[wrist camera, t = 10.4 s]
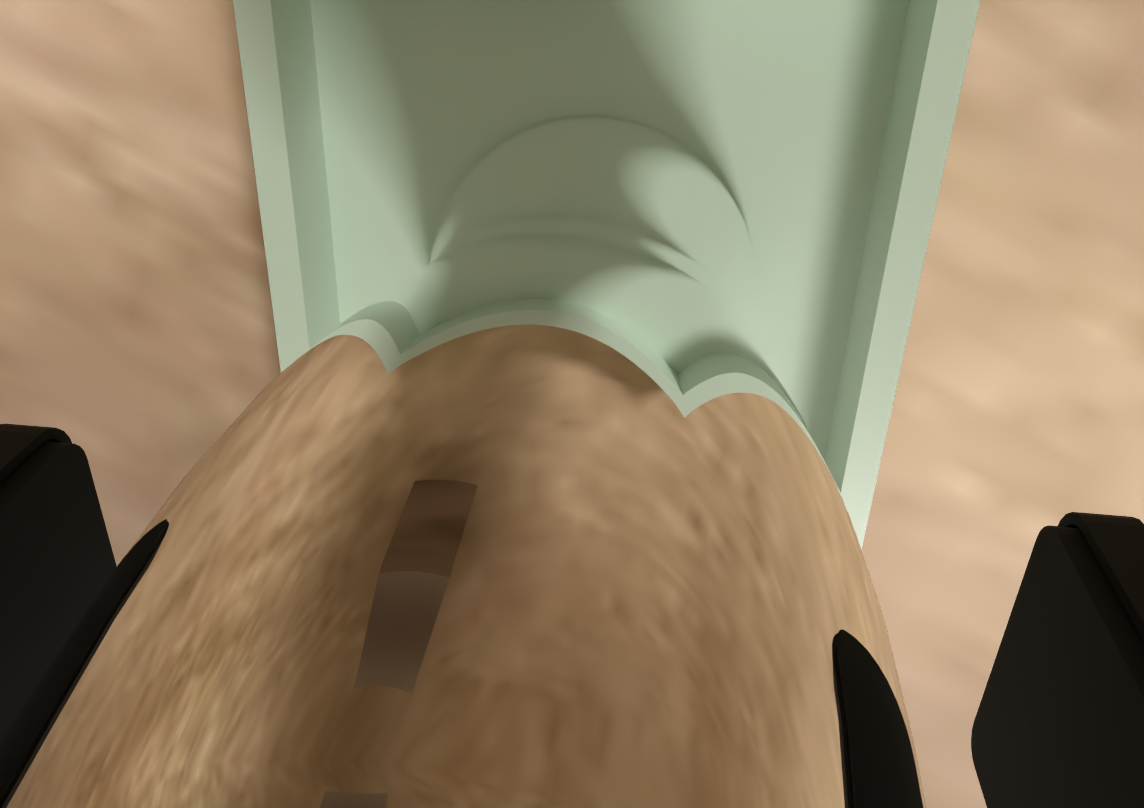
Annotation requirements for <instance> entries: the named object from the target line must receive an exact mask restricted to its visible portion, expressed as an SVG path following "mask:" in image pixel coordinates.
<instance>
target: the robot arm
mask: <svg viewBox="0 0 1144 808" xmlns="http://www.w3.org/2000/svg"><path fill="white" fill-rule="evenodd" d="M116 567H117V566H116V563H115V559H114V555H113V552H112V548H111V544H110V541H109V537H108V533H107V530H106V526H105V522H104V519H103V515H102V511H101V508H100V504H99V500H98V497H97V493H96V489H95V486H94V482H93V478H92V475H91V471H90V467H89V464H88V460H87V457H86V455H85V452H84V450H83V449H82V448H81V447H80V446H78V445H76V444H72V442H71V440H70V437H69V436H68V435H67V434H66V433H65V432H64V431H62V430H60V429H57V428H50V427H38V426H26V425H14V424H0V741H1V739H2V738H3V736H4V735H5V733H6V731H7V730H8V728H9V727H10V725H11V724H12V722H13V720H14V719H15V717H16V716H17V714H18V713H19V711H20V709H21V708H22V706H23V705H24V703H25V701H26V700H27V698H28V697H29V695H30V694H31V693H32V691H33V690H34V688H35V687H36V685H37V684H38V682H39V681H40V679H41V678H42V676H43V675H44V673H45V672H46V670H47V669H48V667H49V666H50V664H51V663H52V661H53V660H54V658H55V657H56V655H57V654H58V652H59V651H60V649H61V648H62V646H63V645H64V643H65V642H66V640H67V639H68V637H69V636H70V634H71V633H72V631H73V630H74V628H75V627H76V625H77V624H78V622H79V621H80V619H81V618H82V616H83V615H84V613H85V612H86V610H87V609H88V607H89V606H90V604H91V603H92V601H93V600H94V598H95V597H96V595H97V594H98V592H99V591H100V589H101V588H102V587H103V585H104V584H105V582H106V581H107V580H108V578H109V577H110V576H111V574H112V573H113V572H114V570H115V569H116ZM971 749H972V757H973V762H974V766H975V769H976V773H977V776H978V779H979V782H980V786H981V789H982V792H983V795H984V799H985V802H986V805H987V808H1144V524H1143V523H1142V522H1141V521H1140V520H1139V519H1136V518H1133V517H1126V516H1114V515H1102V514H1089V513H1077V512H1071V513H1068V514H1066V515H1065V516H1064V517H1063V518H1062V519H1061V520H1060V522H1059V524H1058V526H1046V527H1044V528H1043V529H1042V530H1041V531H1040V532H1039V535H1038V537H1037V539H1036V542H1035V545H1034V548H1033V551H1032V554H1031V556H1030V559H1029V562H1028V565H1027V568H1026V571H1025V574H1024V577H1023V580H1022V583H1021V586H1020V589H1019V592H1018V595H1017V597H1016V600H1015V603H1014V606H1013V609H1012V612H1011V615H1010V618H1009V621H1008V624H1007V627H1006V630H1005V633H1004V636H1003V638H1002V641H1001V644H1000V647H999V650H998V653H997V656H996V659H995V662H994V665H993V668H992V671H991V674H990V677H989V680H988V682H987V685H986V688H985V691H984V694H983V697H982V700H981V703H980V706H979V709H978V712H977V715H976V718H975V721H974V724H973V728H972V737H971Z"/></svg>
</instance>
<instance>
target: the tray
mask: <svg viewBox="0 0 1144 808" xmlns="http://www.w3.org/2000/svg"><path fill="white" fill-rule="evenodd" d="M979 4H980V0H233V5H234V13H235V21H236V28H237V36H238V44H239V52H240V59H241V67H242V75H243V83H244V90H245V98H246V106H247V114H248V121H249V129H250V137H251V145H252V152H253V160H254V168H255V176H256V183H257V191H258V199H259V207H260V214H261V222H262V230H263V238H264V245H265V253H266V261H267V269H268V276H269V284H270V292H271V300H272V307H273V315H274V323H275V331H276V338H277V346H278V354H279V362H280V369H281V372H282V371H284V370H285V369H286V368H287V367H288V366H290V365H291V364H292V363H293V362H294V361H296V360H297V359H298V358H299V357H301V356H302V355H303V354H304V353H305V352H307V351H308V350H309V349H310V348H312V347H313V346H314V345H315V344H316V343H318V342H319V341H320V340H321V339H322V338H324V337H325V336H326V335H327V334H329V333H330V332H331V331H332V330H333V329H335V328H336V327H337V326H338V325H340V324H341V323H342V322H343V321H344V320H346V319H347V318H348V317H350V316H351V315H352V314H354V313H355V312H357V311H358V310H360V309H361V308H363V307H364V306H366V305H367V304H369V303H370V302H372V301H373V300H375V299H376V298H378V297H379V296H381V295H382V294H384V293H385V292H387V291H388V290H390V289H391V288H393V287H394V286H396V285H397V284H399V283H400V282H402V281H403V280H405V279H406V278H408V277H410V276H411V275H413V274H414V273H416V272H418V271H419V270H421V269H422V268H424V267H426V266H427V265H429V263H430V256H431V250H432V245H433V240H434V236H435V232H436V228H437V225H438V222H439V219H440V217H441V214H442V212H443V210H444V208H445V206H446V204H447V202H448V200H449V198H450V196H451V194H452V193H453V191H454V189H455V188H456V186H457V185H458V184H459V182H460V181H461V180H462V178H463V177H464V176H465V175H466V173H467V172H468V171H469V170H470V169H471V168H472V167H473V166H474V165H475V164H476V163H477V162H478V161H479V160H480V159H481V158H482V157H483V156H484V155H486V154H487V153H488V152H489V151H491V150H492V149H493V148H495V147H496V146H498V145H499V144H500V143H502V142H504V141H505V140H507V139H509V138H510V137H512V136H514V135H516V134H518V133H520V132H522V131H525V130H527V129H529V128H532V127H534V126H537V125H540V124H544V123H547V122H551V121H556V120H561V119H568V118H577V117H601V118H611V119H618V120H623V121H628V122H632V123H636V124H639V125H642V126H645V127H648V128H650V129H653V130H655V131H658V132H660V133H662V134H664V135H666V136H668V137H670V138H672V139H674V140H676V141H677V142H679V143H680V144H682V145H683V146H685V147H686V148H688V149H689V150H691V151H692V152H693V153H694V154H696V155H697V156H698V157H699V158H700V159H702V160H703V161H704V162H705V163H706V164H707V165H708V166H709V167H710V168H711V169H712V170H713V171H714V172H715V173H716V175H717V176H718V177H719V178H720V179H721V181H722V182H723V183H724V185H725V186H726V187H727V189H728V190H729V192H730V193H731V195H732V197H733V198H734V200H735V202H736V204H737V206H738V208H739V210H740V212H741V214H742V216H743V219H744V221H745V224H746V227H747V230H748V234H749V237H750V242H751V247H752V253H753V262H754V288H753V295H752V300H751V305H750V309H749V312H748V316H747V319H746V322H745V325H744V328H745V329H746V331H747V332H748V334H749V335H750V337H751V338H752V339H753V341H754V342H755V344H756V345H757V347H758V348H759V350H760V351H761V353H762V354H763V356H764V357H765V359H766V360H767V362H768V364H769V365H770V367H771V368H772V370H773V371H774V373H775V374H776V376H777V378H778V379H779V381H780V382H781V384H782V385H783V387H784V388H785V390H786V392H787V393H788V395H789V396H790V398H791V399H792V401H793V402H794V404H795V406H796V407H797V409H798V411H799V413H800V414H801V416H802V418H803V420H804V422H805V424H806V426H807V428H808V430H809V432H810V434H811V436H812V438H813V439H814V441H815V443H816V445H817V447H818V449H819V451H820V453H821V455H822V457H823V459H824V461H825V463H826V465H827V467H828V469H829V471H830V473H831V475H832V476H833V478H834V480H835V482H836V485H837V487H838V489H839V491H840V493H841V495H842V497H843V500H844V502H845V504H846V507H847V509H848V512H849V515H850V518H851V520H852V523H853V526H854V529H855V532H856V535H857V538H858V541H859V544H860V547H861V550H862V545H863V540H864V536H865V531H866V526H867V522H868V517H869V513H870V508H871V503H872V499H873V494H874V490H875V485H876V480H877V476H878V471H879V466H880V462H881V457H882V453H883V448H884V443H885V439H886V434H887V429H888V425H889V420H890V416H891V411H892V406H893V402H894V397H895V392H896V388H897V383H898V379H899V374H900V369H901V365H902V360H903V355H904V351H905V346H906V342H907V337H908V332H909V328H910V323H911V318H912V314H913V309H914V305H915V300H916V295H917V291H918V286H919V281H920V277H921V272H922V268H923V263H924V258H925V254H926V249H927V245H928V240H929V235H930V231H931V226H932V221H933V217H934V212H935V208H936V203H937V198H938V194H939V189H940V184H941V180H942V175H943V171H944V166H945V161H946V157H947V152H948V147H949V143H950V138H951V134H952V129H953V124H954V120H955V115H956V110H957V106H958V101H959V97H960V92H961V87H962V83H963V78H964V73H965V69H966V64H967V60H968V55H969V50H970V46H971V41H972V36H973V32H974V27H975V23H976V18H977V13H978V9H979Z"/></svg>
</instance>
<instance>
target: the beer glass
mask: <svg viewBox="0 0 1144 808" xmlns="http://www.w3.org/2000/svg"><path fill="white" fill-rule="evenodd" d="M753 288H754V262H753V253H752V247H751V242H750V237H749V234H748V230H747V227H746V224H745V221H744V219H743V216H742V214H741V212H740V210H739V208H738V206H737V204H736V202H735V200H734V198H733V197H732V195H731V193H730V192H729V190H728V189H727V187H726V186H725V185H724V183H723V182H722V181H721V179H720V178H719V177H718V176H717V175H716V173H715V172H714V171H713V170H712V169H711V168H710V167H709V166H708V165H707V164H706V163H705V162H704V161H703V160H702V159H700V158H699V157H698V156H697V155H696V154H694V153H693V152H692V151H691V150H689V149H688V148H686V147H685V146H683V145H682V144H680V143H679V142H677V141H676V140H674V139H672V138H670V137H668V136H666V135H664V134H662V133H660V132H658V131H655V130H653V129H650V128H648V127H645V126H642V125H639V124H636V123H632V122H628V121H623V120H618V119H611V118H601V117H577V118H568V119H561V120H556V121H551V122H547V123H544V124H540V125H537V126H534V127H532V128H529V129H527V130H525V131H522V132H520V133H518V134H516V135H514V136H512V137H510V138H509V139H507V140H505V141H504V142H502V143H500V144H499V145H498V146H496V147H495V148H493V149H492V150H491V151H489V152H488V153H487V154H486V155H484V156H483V157H482V158H481V159H480V160H479V161H478V162H477V163H476V164H475V165H474V166H473V167H472V168H471V169H470V170H469V171H468V172H467V173H466V175H465V176H464V177H463V178H462V180H461V181H460V182H459V184H458V185H457V186H456V188H455V189H454V191H453V193H452V194H451V196H450V198H449V200H448V202H447V204H446V206H445V208H444V210H443V212H442V214H441V217H440V219H439V222H438V225H437V228H436V232H435V236H434V240H433V245H432V250H431V256H430V263H429V265H427V266H426V267H424V268H422V269H421V270H419V271H418V272H416V273H414V274H413V275H411V276H410V277H408V278H406V279H405V280H403V281H402V282H400V283H399V284H397V285H396V286H394V287H393V288H391V289H390V290H388V291H387V292H385V293H384V294H382V295H381V296H379V297H378V298H376V299H375V300H373V301H372V302H370V303H369V304H367V305H366V306H364V307H363V308H361V309H360V310H358V311H357V312H355V313H354V314H352V315H351V316H350V317H348V318H347V319H346V320H344V321H343V322H342V323H341V324H340V325H338V326H337V327H336V328H335V329H333V330H332V331H331V332H330V333H329V334H327V335H326V336H325V337H324V338H322V339H321V340H320V341H319V342H318V343H316V344H315V345H314V346H313V347H312V348H310V349H309V350H308V351H307V352H305V353H304V354H303V355H302V356H301V357H299V358H298V359H297V360H296V361H294V362H293V363H292V364H291V365H290V366H288V367H287V368H286V369H285V370H284V371H282V372H281V373H280V374H279V375H278V376H276V377H275V378H274V379H273V380H272V381H271V382H270V383H269V384H268V385H267V386H266V387H265V388H264V389H263V390H262V391H261V392H260V393H259V394H258V395H257V396H256V398H255V399H254V400H253V401H252V402H251V403H250V404H249V405H248V406H247V408H246V409H245V410H244V411H243V412H242V413H241V414H240V415H239V416H238V418H237V419H236V420H235V421H234V422H233V423H232V424H231V425H230V426H229V428H228V429H227V430H226V431H225V432H224V433H223V434H222V435H221V436H220V438H219V439H218V440H217V441H216V442H215V443H214V444H213V445H212V446H211V447H210V449H209V450H208V451H207V452H206V453H205V454H204V455H203V456H202V457H201V459H200V460H199V461H198V462H197V463H196V464H195V465H194V466H193V467H192V469H191V470H190V471H189V472H188V473H187V475H186V476H185V477H184V478H183V479H182V481H181V482H180V483H179V484H178V486H177V487H176V488H175V490H174V491H173V492H172V494H171V495H170V496H169V498H168V499H167V501H166V502H165V503H164V505H163V506H162V507H161V509H160V510H159V511H158V513H157V514H156V515H155V517H154V518H153V519H152V521H151V522H150V523H149V525H148V526H147V527H146V529H145V530H144V531H143V533H142V534H141V535H140V537H139V538H138V539H137V541H136V542H135V543H134V545H133V546H132V547H131V549H130V550H129V551H128V553H127V554H126V555H125V557H124V558H123V559H122V561H121V562H120V563H119V565H118V566H117V567H116V569H115V570H114V572H113V573H112V574H111V576H110V577H109V578H108V580H107V581H106V582H105V584H104V585H103V587H102V588H101V589H100V591H99V592H98V594H97V595H96V597H95V598H94V600H93V601H92V603H91V604H90V606H89V607H88V609H87V610H86V612H85V613H84V615H83V616H82V618H81V619H80V621H79V622H78V624H77V625H76V627H75V628H74V630H73V631H72V633H71V634H70V636H69V637H68V639H67V640H66V642H65V643H64V645H63V646H62V648H61V649H60V651H59V652H58V654H57V655H56V657H55V658H54V660H53V661H52V663H51V664H50V666H49V667H48V669H47V670H46V672H45V673H44V675H43V676H42V678H41V679H40V681H39V682H38V684H37V685H36V687H35V688H34V690H33V691H32V693H31V694H30V695H29V697H28V698H27V700H26V701H25V703H24V705H23V706H22V708H21V709H20V711H19V713H18V714H17V716H16V717H15V719H14V720H13V722H12V724H11V725H10V727H9V728H8V730H7V731H6V733H5V735H4V736H3V738H2V739H1V741H0V808H926V804H925V798H924V793H923V788H922V782H921V777H920V771H919V766H918V760H917V755H916V750H915V745H914V740H913V736H912V732H911V728H910V724H909V719H908V715H907V711H906V707H905V703H904V698H903V694H902V690H901V686H900V682H899V677H898V673H897V669H896V665H895V661H894V656H893V652H892V648H891V644H890V640H889V635H888V631H887V627H886V623H885V620H884V616H883V613H882V610H881V607H880V604H879V601H878V598H877V595H876V592H875V589H874V586H873V583H872V580H871V577H870V574H869V571H868V568H867V565H866V562H865V559H864V556H863V553H862V550H861V547H860V544H859V541H858V538H857V535H856V532H855V529H854V526H853V523H852V520H851V518H850V515H849V512H848V509H847V507H846V504H845V502H844V500H843V497H842V495H841V493H840V491H839V489H838V487H837V485H836V482H835V480H834V478H833V476H832V475H831V473H830V471H829V469H828V467H827V465H826V463H825V461H824V459H823V457H822V455H821V453H820V451H819V449H818V447H817V445H816V443H815V441H814V439H813V438H812V436H811V434H810V432H809V430H808V428H807V426H806V424H805V422H804V420H803V418H802V416H801V414H800V413H799V411H798V409H797V407H796V406H795V404H794V402H793V401H792V399H791V398H790V396H789V395H788V393H787V392H786V390H785V388H784V387H783V385H782V384H781V382H780V381H779V379H778V378H777V376H776V374H775V373H774V371H773V370H772V368H771V367H770V365H769V364H768V362H767V360H766V359H765V357H764V356H763V354H762V353H761V351H760V350H759V348H758V347H757V345H756V344H755V342H754V341H753V339H752V338H751V337H750V335H749V334H748V332H747V331H746V329H745V328H744V325H745V322H746V319H747V316H748V312H749V309H750V305H751V300H752V295H753Z"/></svg>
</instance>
